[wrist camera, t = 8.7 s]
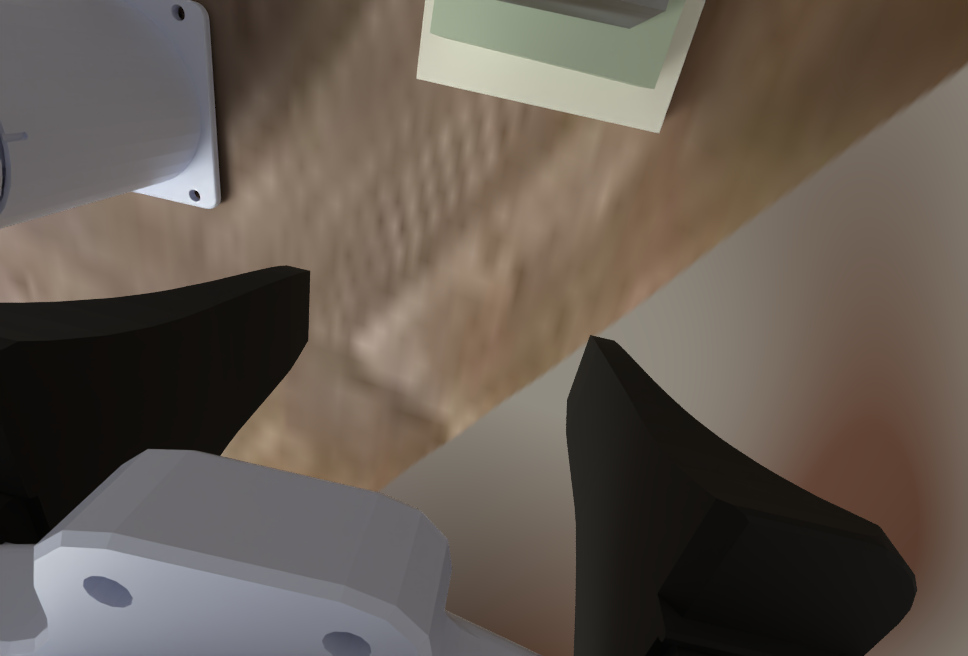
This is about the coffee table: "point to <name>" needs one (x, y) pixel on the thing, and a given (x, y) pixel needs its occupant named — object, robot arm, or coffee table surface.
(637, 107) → the tower base slab
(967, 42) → the coffee table surface
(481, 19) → the tower top slab
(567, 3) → the slate cube
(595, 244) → the coffee table surface
